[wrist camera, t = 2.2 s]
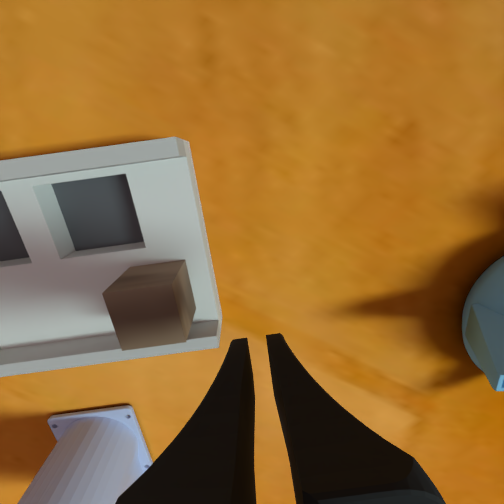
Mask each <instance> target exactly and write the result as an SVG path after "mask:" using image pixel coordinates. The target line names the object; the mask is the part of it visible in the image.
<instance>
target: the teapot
mask: <svg viewBox="0 0 504 504" xmlns="http://www.w3.org/2000/svg"><path fill="white" fill-rule="evenodd" d="M462 334H463V341H464V345H465V348H466V350H467V352H468V354H469V356H470V358H471V359H472V361H473V362H474V363H475V365H476V366H477V367H478V368H480V369H481V370H482V371H483V372H484V373H485V375H486V377H487V379H488V380H489V382H490V384H491V386H492V388H493V389H494V390H495V391H504V256H503V257H501V258H500V259H498V260H497V261H495V262H494V263H493V264H492V265H491V266H489V267H488V268H487V269H486V270H485V271H484V272H483V273H482V274H481V276H480V277H479V278H478V279H477V281H476V282H475V283H474V285H473V287H472V288H471V290H470V292H469V294H468V296H467V298H466V301H465V304H464V309H463V315H462Z"/></svg>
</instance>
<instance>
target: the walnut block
mask: <svg viewBox="0 0 504 504" xmlns="http://www.w3.org/2000/svg"><path fill="white" fill-rule="evenodd" d="M102 295H103V298H104V301H105V304H106V307H107V310H108V312H109V315H110V318H111V321H112V324H113V327H114V329H115V332H116V335H117V338H118V341H119V344H120V347H121V349H122V351H125V350H132V349H140V348H147V347H155V346H162V345H169V344H177V343H184V342H186V341H187V338H188V334H189V331H190V328H191V324H192V321H193V318H194V314H195V311H196V305H195V300H194V296H193V292H192V287H191V283H190V278H189V274H188V269H187V265H186V261H185V260H178V261H171V262H163V263H156V264H149V265H141V266H134V267H129V268H128V269H127V270H126V271H125V272H124V273H123V274H122V275H121V276H120V277H119V278H118V279H117V280H116V281H114V282H113V283H112V284H111V285H110V286H109V287H108V288H107V289H106V290H105V291H104V292H103V293H102Z"/></svg>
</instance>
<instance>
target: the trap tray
mask: <svg viewBox="0 0 504 504" xmlns="http://www.w3.org/2000/svg"><path fill="white" fill-rule="evenodd" d="M178 260H185V261H186V265H187V269H188V274H189V278H190V283H191V287H192V292H193V296H194V300H195V305H196V311H195V314H194V318H193V321H192V324H191V328H190V331H189V334H188V338H187V341H186V342H184V343H177V344H169V345H162V346H155V347H147V348H140V349H132V350H125V351H122V349H121V347H120V344H119V341H118V338H117V335H116V332H115V329H114V327H113V324H112V321H111V318H110V315H109V312H108V310H107V307H106V304H105V301H104V298H103V295H102V293H103V292H104V291H105V290H106V289H107V288H108V287H109V286H110V285H111V284H112V283H113V282H114V281H116V280H117V279H118V278H119V277H120V276H121V275H122V274H123V273H124V272H125V271H126V270H127V269H128V268H129V267H134V266H141V265H149V264H156V263H163V262H171V261H178ZM221 324H222V312H221V307H220V302H219V296H218V291H217V286H216V281H215V275H214V270H213V265H212V260H211V254H210V249H209V244H208V239H207V234H206V228H205V223H204V218H203V213H202V207H201V202H200V197H199V192H198V186H197V181H196V176H195V171H194V166H193V160H192V155H191V150H190V145H189V142H188V141H186V140H183V139H180V138H178V137H170V138H162V139H155V140H148V141H140V142H133V143H126V144H118V145H111V146H104V147H97V148H89V149H82V150H75V151H67V152H60V153H53V154H45V155H38V156H31V157H24V158H16V159H9V160H2V161H0V377H4V376H11V375H19V374H26V373H34V372H41V371H48V370H56V369H63V368H71V367H78V366H86V365H93V364H100V363H108V362H115V361H123V360H130V359H137V358H145V357H152V356H160V355H167V354H174V353H182V352H189V351H197V350H204V349H211V348H219V342H220V333H221Z"/></svg>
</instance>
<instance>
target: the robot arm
mask: <svg viewBox="0 0 504 504" xmlns="http://www.w3.org/2000/svg"><path fill="white" fill-rule="evenodd" d="M266 339H267V347H268V354H269V362H270V369H271V377H272V384H273V391H274V397H275V401H276V405H277V410H278V414H279V418H280V422H281V426H282V430H283V435H284V439H285V443H286V447H287V451H288V456H289V461H290V467H291V473H292V479H293V486H294V492H295V498H296V504H446V503H445V501H444V500H443V498H442V496H441V494H440V493H439V491H438V490H437V488H436V487H435V485H434V484H433V482H432V481H431V480H430V478H429V477H428V475H427V474H426V473H425V471H424V470H423V469H422V467H421V466H420V465H419V464H418V462H417V461H416V460H415V458H414V457H412V456H410V455H409V454H407V453H406V452H404V451H402V450H401V449H399V448H398V447H396V446H394V445H393V444H391V443H390V442H388V441H386V440H385V439H383V438H382V437H381V436H379V435H378V434H376V433H375V432H374V431H372V430H371V429H369V428H368V427H367V426H365V425H364V424H363V423H362V422H360V421H359V420H358V419H357V418H355V417H354V416H353V415H352V414H350V413H349V412H348V411H347V410H345V409H344V408H343V407H342V406H341V405H340V404H338V403H337V402H336V401H335V400H334V399H333V398H332V397H331V396H330V395H329V394H328V393H327V392H326V391H325V390H324V389H323V388H322V387H321V386H320V385H319V384H318V383H317V382H316V381H315V380H314V379H313V378H312V376H311V375H310V374H309V373H308V372H307V371H306V369H305V368H304V367H303V366H302V364H301V363H300V362H299V361H298V359H297V358H296V357H295V355H294V354H293V352H292V351H291V349H290V348H289V346H288V345H287V343H286V341H285V339H284V337H283V335H282V334H280V333H278V334H271V335H266ZM48 424H49V426H50V428H51V430H52V432H53V434H54V436H55V438H56V440H57V444H56V445H55V447H54V448H53V450H52V451H51V453H50V454H49V456H48V457H47V459H46V461H45V462H44V464H43V465H42V467H41V468H40V470H39V471H38V473H37V474H36V476H35V477H34V479H33V481H32V482H31V484H30V485H29V487H28V488H27V490H26V491H25V493H24V494H23V496H22V497H21V499H20V500H19V502H18V504H256V491H255V474H254V425H255V393H254V381H253V372H252V365H251V359H250V353H249V347H248V341H247V338H241V339H234V340H232V342H231V344H230V347H229V350H228V352H227V355H226V357H225V359H224V362H223V364H222V366H221V368H220V370H219V372H218V374H217V376H216V378H215V380H214V382H213V384H212V385H211V387H210V389H209V391H208V392H207V394H206V396H205V397H204V399H203V401H202V402H201V404H200V405H199V407H198V408H197V410H196V411H195V413H194V414H193V415H192V417H191V418H190V420H189V421H188V422H187V424H186V425H185V426H184V428H183V429H182V430H181V431H180V433H179V434H178V435H177V436H176V438H175V439H174V440H173V441H172V442H171V444H170V445H169V446H168V447H167V448H166V449H165V450H164V451H163V453H162V454H161V455H160V456H159V457H158V458H157V459H156V461H155V462H154V463H153V462H152V459H151V457H150V454H149V451H148V448H147V446H146V443H145V440H144V437H143V435H142V432H141V429H140V427H139V424H138V421H137V418H136V416H135V413H134V410H133V408H132V407H131V406H129V405H126V406H119V407H111V408H104V409H96V410H89V411H81V412H74V413H67V414H59V415H53V416H51V417H50V418H49V419H48Z"/></svg>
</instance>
